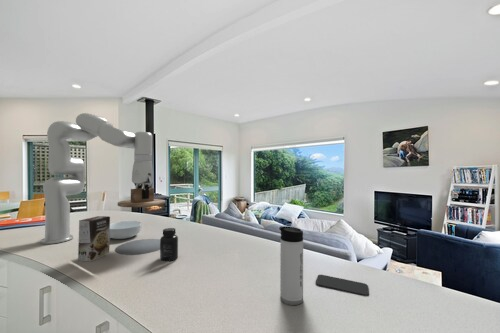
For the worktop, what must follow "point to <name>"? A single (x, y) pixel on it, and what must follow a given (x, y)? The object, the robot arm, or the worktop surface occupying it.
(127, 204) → the lid
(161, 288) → the worktop surface
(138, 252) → the tray
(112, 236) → the cereal bowl
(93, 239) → the coffee box
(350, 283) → the phone
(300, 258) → the travel mug
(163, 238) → the supplement bottle
